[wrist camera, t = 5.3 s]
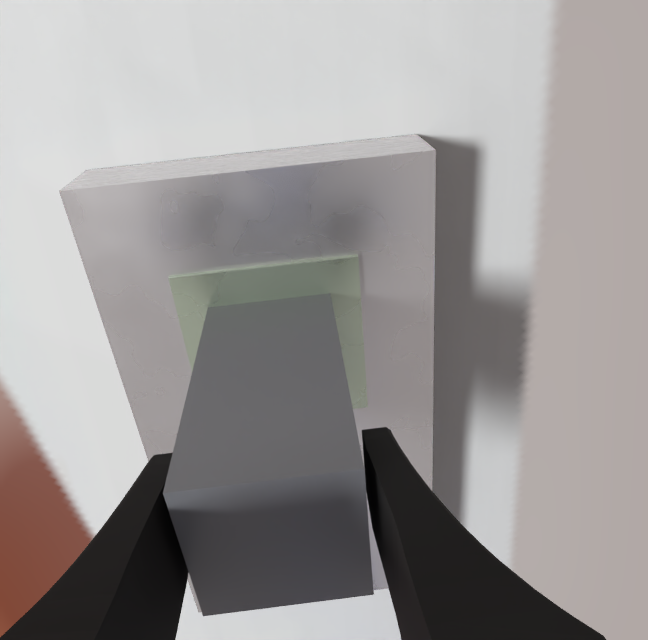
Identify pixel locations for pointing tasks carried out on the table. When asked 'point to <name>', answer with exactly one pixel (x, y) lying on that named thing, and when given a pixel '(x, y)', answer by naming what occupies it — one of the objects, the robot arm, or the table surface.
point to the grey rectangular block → (270, 462)
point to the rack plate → (270, 272)
